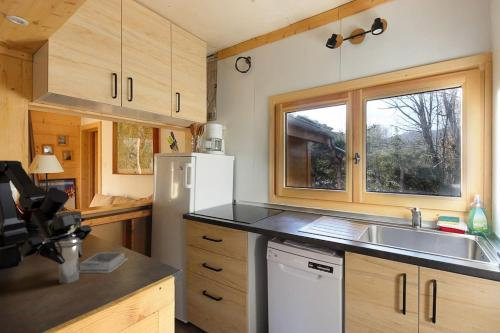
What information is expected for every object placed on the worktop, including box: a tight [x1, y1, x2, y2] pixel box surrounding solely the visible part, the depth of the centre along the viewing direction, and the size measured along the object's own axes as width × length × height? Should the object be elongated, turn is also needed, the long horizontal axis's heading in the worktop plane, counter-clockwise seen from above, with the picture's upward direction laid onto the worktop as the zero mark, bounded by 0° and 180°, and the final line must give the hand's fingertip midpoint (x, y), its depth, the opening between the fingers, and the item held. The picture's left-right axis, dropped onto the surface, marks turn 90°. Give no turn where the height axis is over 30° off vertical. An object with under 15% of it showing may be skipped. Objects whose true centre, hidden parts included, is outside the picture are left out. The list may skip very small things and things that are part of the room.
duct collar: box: [79, 252, 129, 274], centre depth 90 cm, size 12×12×3 cm
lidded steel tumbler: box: [57, 237, 80, 285], centre depth 78 cm, size 6×6×13 cm
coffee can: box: [55, 210, 83, 248], centre depth 114 cm, size 10×10×14 cm
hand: (72, 260), depth 78 cm, fingers open, 5 cm apart
